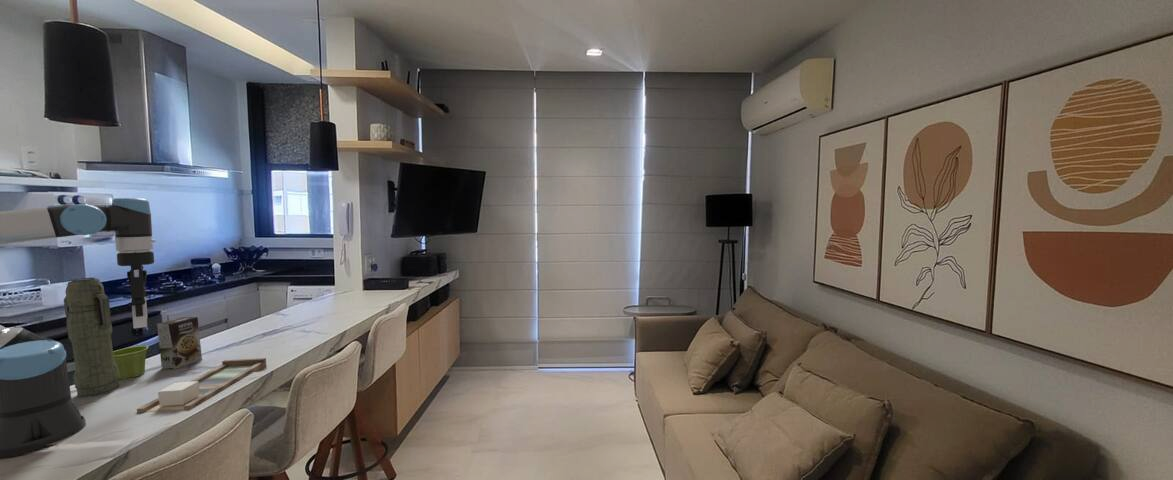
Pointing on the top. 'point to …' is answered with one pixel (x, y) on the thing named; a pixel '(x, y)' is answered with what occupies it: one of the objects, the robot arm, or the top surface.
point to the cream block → (179, 393)
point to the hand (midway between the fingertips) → (140, 323)
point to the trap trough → (213, 382)
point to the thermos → (90, 337)
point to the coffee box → (179, 342)
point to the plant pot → (130, 361)
